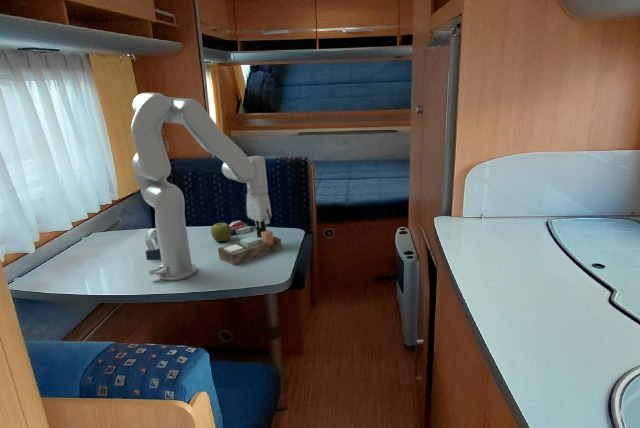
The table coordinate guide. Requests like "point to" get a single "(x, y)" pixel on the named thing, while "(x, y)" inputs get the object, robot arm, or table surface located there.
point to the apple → (221, 232)
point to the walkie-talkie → (240, 228)
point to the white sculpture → (152, 250)
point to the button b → (249, 241)
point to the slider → (267, 237)
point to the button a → (233, 248)
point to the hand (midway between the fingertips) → (261, 236)
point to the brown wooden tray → (248, 251)
